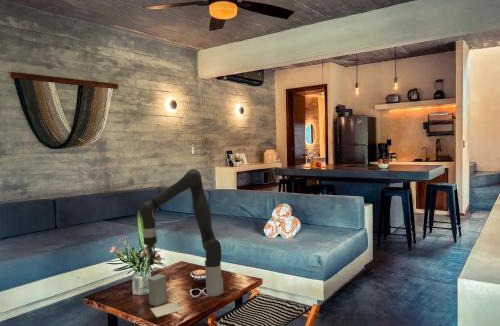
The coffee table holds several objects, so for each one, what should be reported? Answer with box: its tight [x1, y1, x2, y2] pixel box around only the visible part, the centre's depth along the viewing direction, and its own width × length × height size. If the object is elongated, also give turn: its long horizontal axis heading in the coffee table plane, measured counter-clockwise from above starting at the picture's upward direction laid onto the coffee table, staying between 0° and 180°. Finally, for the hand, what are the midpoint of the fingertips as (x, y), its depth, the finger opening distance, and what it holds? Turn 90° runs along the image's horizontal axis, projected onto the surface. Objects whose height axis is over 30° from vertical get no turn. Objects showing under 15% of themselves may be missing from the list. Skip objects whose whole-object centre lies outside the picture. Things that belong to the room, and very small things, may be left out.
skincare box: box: [147, 273, 168, 308], centre depth 216 cm, size 8×7×16 cm
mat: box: [150, 302, 183, 318], centre depth 208 cm, size 14×12×1 cm
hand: (151, 264), depth 224 cm, fingers closed
